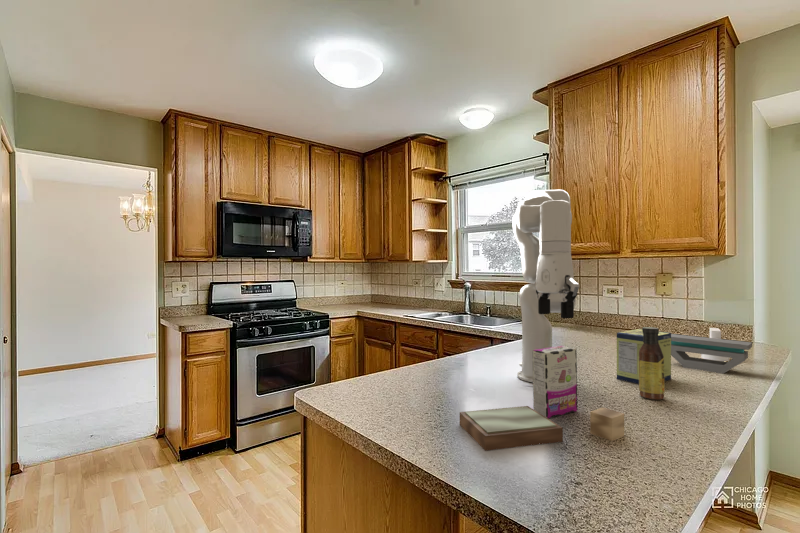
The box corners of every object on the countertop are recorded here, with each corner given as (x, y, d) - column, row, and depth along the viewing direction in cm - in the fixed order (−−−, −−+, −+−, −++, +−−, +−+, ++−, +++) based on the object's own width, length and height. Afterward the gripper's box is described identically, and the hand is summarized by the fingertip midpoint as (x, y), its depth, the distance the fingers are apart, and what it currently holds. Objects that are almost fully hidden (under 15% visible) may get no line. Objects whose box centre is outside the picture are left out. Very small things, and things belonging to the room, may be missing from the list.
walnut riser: (459, 424, 97) (459, 410, 97) (527, 417, 101) (527, 404, 101) (485, 450, 84) (485, 434, 83) (562, 441, 88) (562, 426, 88)
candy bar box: (562, 405, 110) (562, 344, 110) (578, 411, 106) (578, 348, 106) (531, 412, 105) (531, 348, 105) (546, 419, 101) (546, 352, 100)
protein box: (671, 379, 136) (671, 332, 136) (649, 387, 127) (649, 337, 127) (638, 372, 145) (639, 328, 144) (615, 379, 136) (615, 332, 136)
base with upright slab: (730, 362, 158) (730, 331, 158) (701, 360, 163) (702, 329, 163) (727, 358, 166) (727, 328, 166) (700, 355, 171) (700, 327, 170)
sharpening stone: (663, 364, 156) (663, 335, 156) (669, 361, 161) (669, 333, 161) (748, 377, 138) (748, 345, 137) (752, 373, 143) (752, 342, 143)
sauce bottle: (668, 401, 113) (668, 330, 113) (643, 400, 115) (643, 329, 115) (658, 394, 120) (658, 326, 120) (635, 393, 121) (635, 325, 121)
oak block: (590, 433, 92) (590, 411, 92) (602, 428, 95) (602, 407, 95) (612, 441, 88) (612, 418, 88) (624, 436, 91) (624, 413, 91)
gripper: (524, 250, 113) (524, 312, 112) (563, 247, 96) (563, 320, 96) (548, 251, 114) (548, 312, 114) (590, 247, 98) (591, 319, 97)
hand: (555, 315), depth 105 cm, fingers open, 9 cm apart
